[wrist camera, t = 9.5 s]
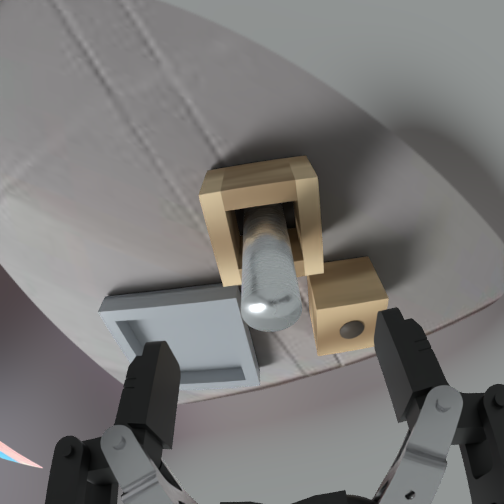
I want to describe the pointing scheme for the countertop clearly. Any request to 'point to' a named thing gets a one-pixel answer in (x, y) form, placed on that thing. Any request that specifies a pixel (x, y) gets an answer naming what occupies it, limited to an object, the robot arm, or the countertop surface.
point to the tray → (188, 332)
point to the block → (345, 305)
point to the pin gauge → (268, 271)
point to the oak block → (257, 194)
